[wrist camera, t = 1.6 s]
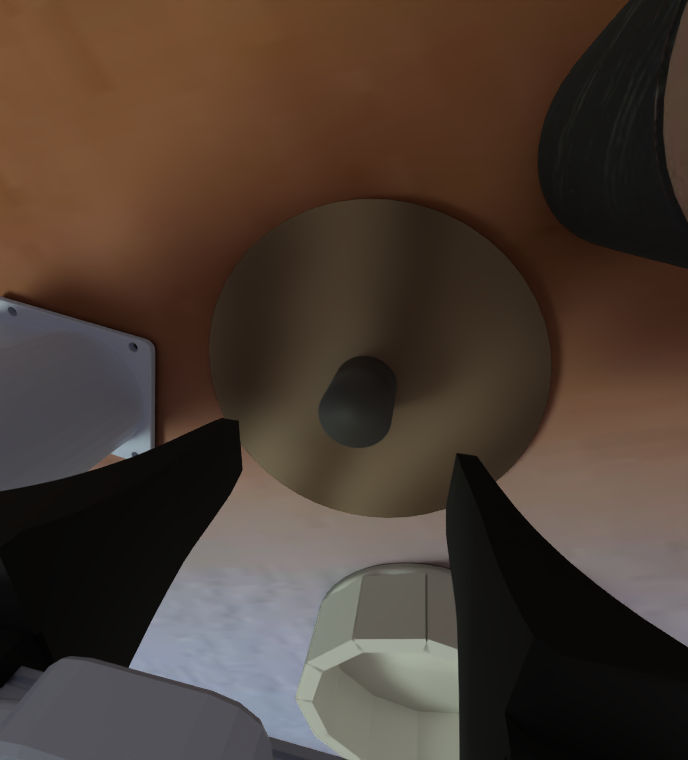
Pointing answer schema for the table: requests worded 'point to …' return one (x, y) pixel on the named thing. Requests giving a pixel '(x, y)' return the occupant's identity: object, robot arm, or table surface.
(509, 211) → the table surface
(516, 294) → the lid
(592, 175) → the travel mug
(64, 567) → the robot arm
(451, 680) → the bowl
